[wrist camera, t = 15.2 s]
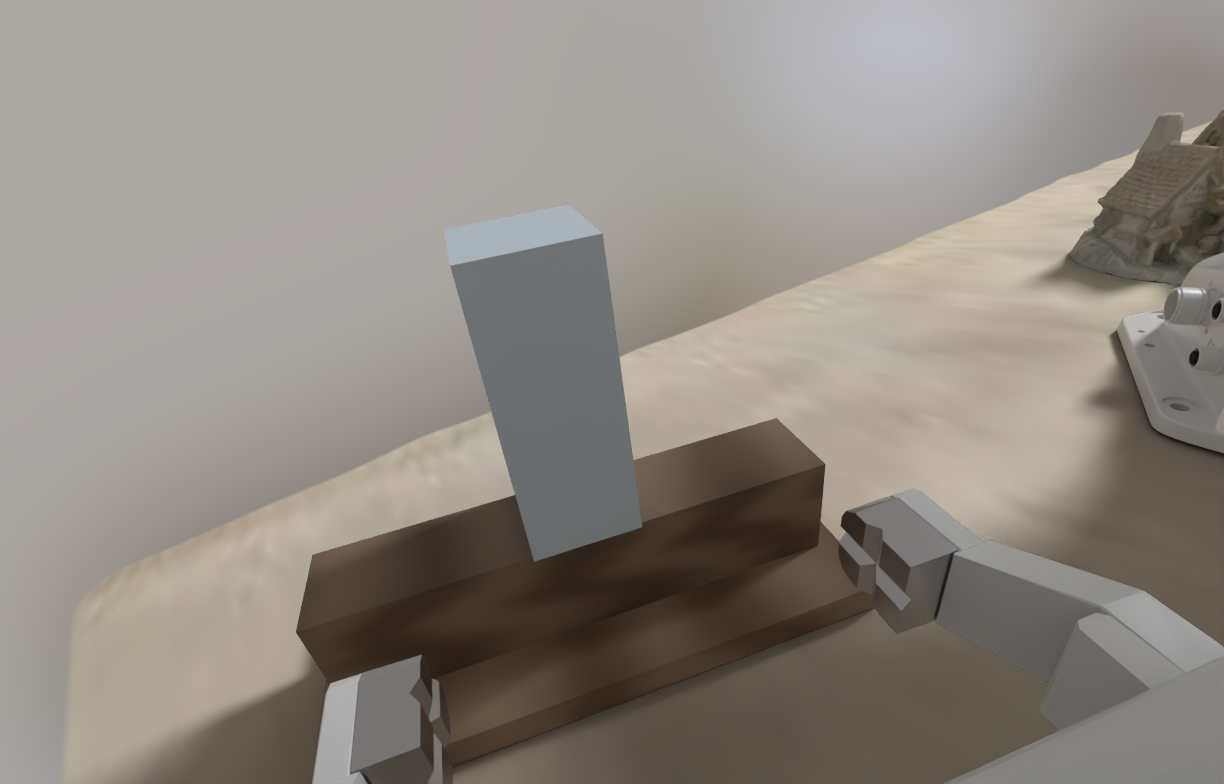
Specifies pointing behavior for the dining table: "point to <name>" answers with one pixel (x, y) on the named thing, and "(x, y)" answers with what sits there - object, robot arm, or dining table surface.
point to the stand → (590, 592)
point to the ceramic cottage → (1162, 208)
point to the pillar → (550, 372)
